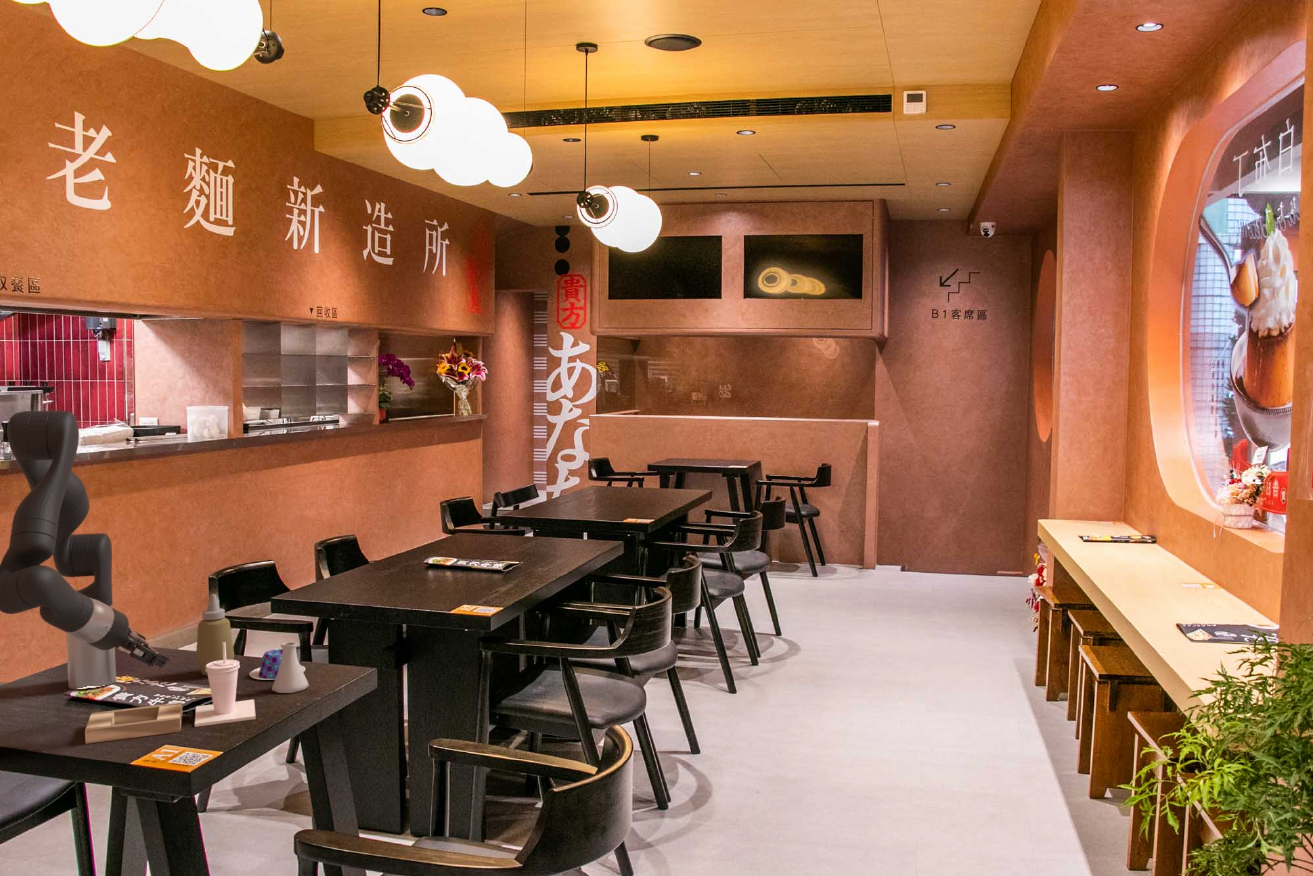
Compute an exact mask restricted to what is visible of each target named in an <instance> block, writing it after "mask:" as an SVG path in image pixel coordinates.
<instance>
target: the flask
mask: <svg viewBox="0 0 1313 876" xmlns="http://www.w3.org/2000/svg"><path fill="white" fill-rule="evenodd" d="M297 646H298V642H296V641H287V642H282V643H281V644H280V647H281V649H282V660H281V664H280V667H279V670H278V673H277V676H276V679H275V680H274V682H273V685H272V688H271V691H273V692H276V693H278V694H279V693H280V694H294V693H297V692H302V691H304V690H305V689H307V688H308V687H309V686H310V684H309V681H308V679H307V678H306V676H305V673H304V672H303V671H302V668H301V666H300V665H301V664H300V661H299V659H298V655H297Z"/></svg>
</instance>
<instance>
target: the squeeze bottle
mask: <svg viewBox="0 0 1313 876" xmlns="http://www.w3.org/2000/svg"><path fill="white" fill-rule="evenodd" d="M225 611H226V610H225V609H224V608H220V605H219V600H218V598H217V594H215V593H213V594H210V595H209V600H208V604H207V609H205V610H203V611H202V620H200V622H198V624H197V626H198V627H197V637H196V653H195V660H196V663H197V666H198V667H199V670H200V673H201V675H203V676H207V677H208V673H207V672H206V671H205V670H206V665H207V664H208V663H211V662H214V661H219V660H223V642H226V660H234V657H235V651H234V650H235V649H234V643H233V637H232V630H231V622H230V621H231V620H229V619H228V618H226V612H225Z"/></svg>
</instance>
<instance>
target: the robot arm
mask: <svg viewBox="0 0 1313 876" xmlns="http://www.w3.org/2000/svg"><path fill="white" fill-rule="evenodd" d="M78 424H79V423H78V420H77V418H76V416H75V414H74V413H73V412H71V411H69V410H68V411H67V410H26V411H19V412H15V413H14V414H13V415H12V416H11V417H10V418H9V420H8V422H7V425H6V427H7V429H6V431H7V433H6V434H7V441H8V444H9V448H10V450H11V453H12V455H13V457H14V458H15V461H16V462H17V464H18V466H19V468H20V470H21V471H22V473H23V475H24V476H25V479H26V481H27V483H28V487H29V490H30V492H29V493H28V494H27V495H26V496H25V497H24V498H23V499H22V501H20V503H19V505H18V506H17V508H16V510H15V512H14V516H13V518H12V523H11V530H10V536H9V537H10V538H9V544H8V548H7V550H6V552H5V553H4V555H3V557H2V560H1V562H0V612H1V613H4V614H8V615H14V614H19V613H23V612H27V611H29V610H33V609H35V608H39V614H40V617H41V619H42V620H43V621H44V622H45V623H47V624H49V625H50V626H53V627H54V628H57V629H59V630H61V631H63V632H65V636H66V637H65V639H66V641H65V642H66V661H67V680H68V688H69V689H72V690H77V688H83V687H87V686H103V685H107V686H110V685H113V684H114V683H115V682H116V681H117V673H116V669H117V668H116V652H115V651H116V649H117V650H119V651H121V652H125V653H127V654H129V656H130V658H133V659H136V660H137V661H138V662H141V663H143V664H145V665H147V666H148V667H151V668H153V667H154V666H157V667H158V668H164V667H165V666H166V664H167V663H168V662H169V661H170V658H169V657H168V656H166V655H165V654H163V653H160V652H158V650H157V649H154V648H152V647H151V646H150V644H149V642H148V641H147V639H146V637H145V636H144V635H142V634H140V633H139V632H136V631H135V630H133V629H132V627H131V626H130V622H129V619H128V617H127V615H126V614H125V613H123V612H122V611H119V610H117V609H115V608H113V607H114V605H113V603H114V602H113V580H112V577H113V574H112V573H113V572H112V571H113V570H112V569H113V547H112V541H111V538H110V536H109V534H106V533H103V532H100V533H99V532H97V533H80V534H78V533H77V534H74V533H75V531H76V530H77V529H78V528H79V527H80V526H81V525H82V523H83V522H84V521H85V519H86V518H87V516H88V514H89V511H90V501H89V497H88V494H87V490H86V486H85V484H84V482H83V481H82V480H81V478H80V477H79V476H78V475H77V474H75V473H74V472H73V468H74V463H75V459H76V456H77V451H78V447H79V440H80V439H79V438H80V431H79V430H80V429H79V425H78ZM51 558H53V559H52V560H53V563H54V567H55V568H53V567H50V566H48V565H42V564H43V563H45V562H46V561H48V560H49V559H51ZM64 577H65V578H81V577H83V578H84V577H93V578H94V579H93V581H92V582H91V583H90V584H89V585H87V586H86V587H85V586H84V587H83V588H82V589H78V590H76V589H74V587H72V585H71V584H70V583H69V582H68V581H67V580H66V579H65V578H64ZM109 684H110V685H109Z"/></svg>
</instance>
